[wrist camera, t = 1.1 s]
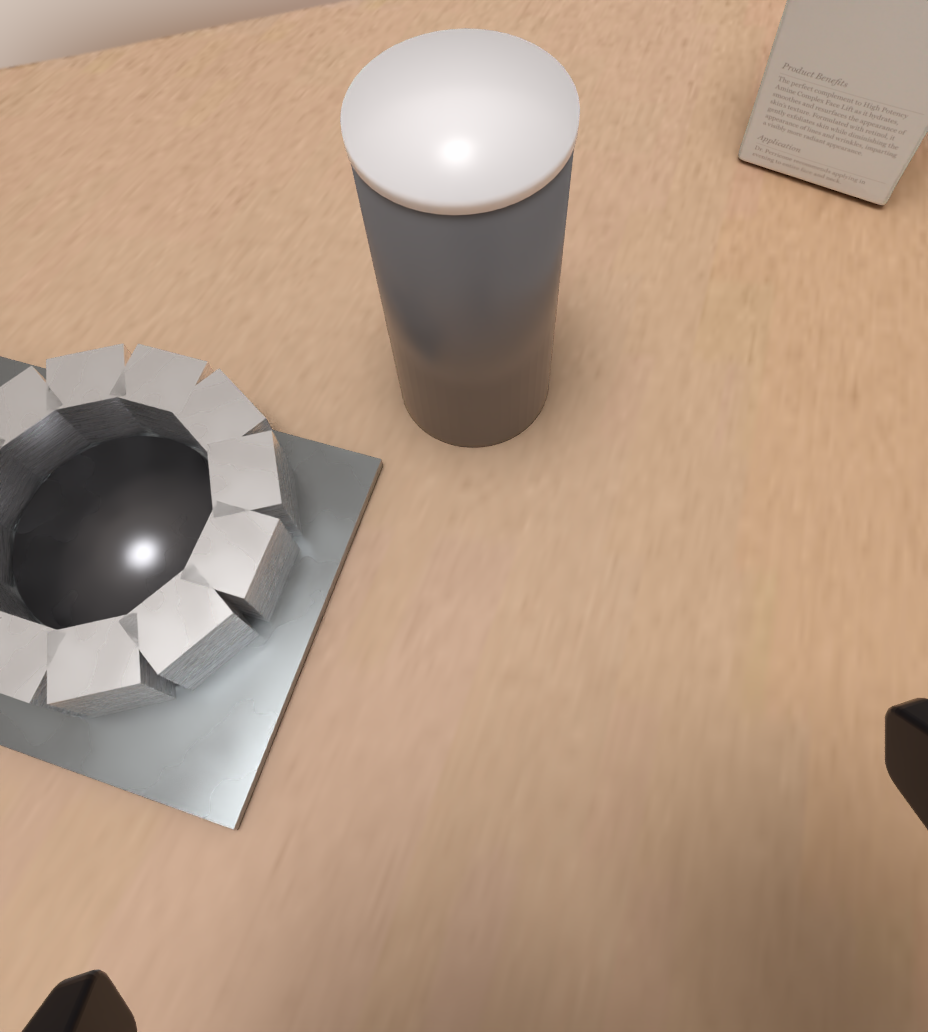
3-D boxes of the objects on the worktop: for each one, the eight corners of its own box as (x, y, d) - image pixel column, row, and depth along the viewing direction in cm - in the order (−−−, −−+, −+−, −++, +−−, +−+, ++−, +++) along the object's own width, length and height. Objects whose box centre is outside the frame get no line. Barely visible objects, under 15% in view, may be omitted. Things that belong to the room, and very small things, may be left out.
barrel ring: (388, 449, 26) (376, 405, 24) (237, 829, 22) (201, 828, 19) (-12, 342, 29) (-65, 291, 26) (-222, 663, 24) (-312, 641, 22)
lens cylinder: (566, 338, 28) (605, 50, 18) (526, 465, 26) (543, 223, 16) (427, 306, 28) (387, 12, 18) (378, 426, 27) (304, 173, 16)
